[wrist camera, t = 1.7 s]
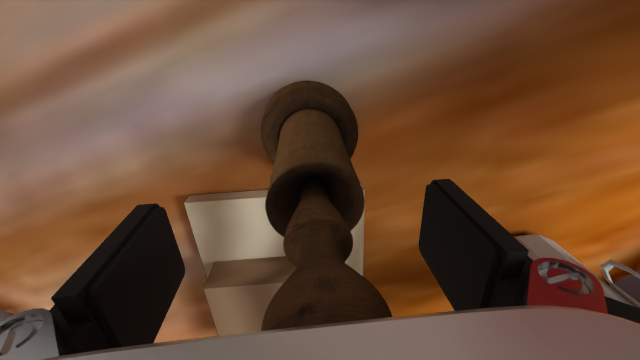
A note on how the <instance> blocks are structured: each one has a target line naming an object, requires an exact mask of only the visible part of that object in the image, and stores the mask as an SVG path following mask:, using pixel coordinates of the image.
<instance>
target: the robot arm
mask: <svg viewBox="0 0 640 360" xmlns="http://www.w3.org/2000/svg"><path fill="white" fill-rule="evenodd" d="M419 250H420V252H421V254H422V256H423V258H424V260H425V261H426V263H427V265H428V266H429V268H430V270H431V271H432V273H433V275H434V276H435V278H436V280H437V281H438V283H439V285H440V286H441V288H442V290H443V292H444V293H445V295H446V297H447V298H448V300H449V302H450V303H451V305H452V307H453V308H454V310H455V311H448V312H437V313H427V314H418V315H408V316H398V317H388V318H379V319H369V320H359V321H350V322H340V323H331V324H322V325H312V326H303V327H294V328H285V329H276V330H267V331H258V332H248V333H239V334H231V335H222V336H213V337H204V338H196V339H187V340H178V341H170V342H161V343H154V340H155V338H156V336H157V334H158V332H159V329H160V327H161V325H162V323H163V321H164V319H165V316H166V314H167V312H168V310H169V308H170V305H171V303H172V301H173V299H174V297H175V295H176V292H177V290H178V288H179V286H180V284H181V281H182V279H183V277H184V274H185V266H184V263H183V260H182V257H181V254H180V251H179V248H178V245H177V243H176V240H175V237H174V234H173V231H172V228H171V225H170V222H169V219H168V216H167V213H166V211H165V209H164V208H163V207H160V206H159V205H158V204H144V205H138V206H136V207H135V208H134V209H133V210H132V211H131V213H130V214H129V215H128V216H127V217H126V218H125V219H124V220H123V221H122V222H121V223H120V224H119V225H118V227H117V228H116V229H115V230H114V231H113V232H112V233H111V234H110V235H109V236H108V237H107V238H106V239H105V240H104V242H103V243H102V244H101V245H100V246H99V247H98V248H97V249H96V250H95V251H94V252H93V253H92V254H91V256H90V257H89V258H88V259H87V260H86V261H85V262H84V263H83V264H82V265H81V266H80V267H79V268H78V269H77V271H76V272H75V273H74V274H73V275H72V276H71V277H70V278H69V279H68V280H67V281H66V282H65V283H64V285H63V286H62V287H61V288H60V289H59V290H58V291H57V292H56V293H55V294H54V295H53V296H52V297H51V299H52V300H53V302H54V303H55V305H54V306H53V307H52V308H51V310H50V311H49V310H46V309H43V308H41V309H31V310H27V311H23V312H21V313H18V314H16V315H13V316H11V317H9V318H7V319H5V320H3V321H1V322H0V360H640V308H637V307H634V306H631V305H629V304H626V303H623V302H620V301H618V300H615V299H612V298H609V297H607V296H604V291H603V288H602V285H601V283H600V282H599V281H598V280H597V279H596V277H595V276H594V275H592V274H591V273H589V272H588V271H587V270H585V269H583V268H582V267H580V266H578V265H576V264H573V263H571V262H568V261H565V260H561V259H557V258H547V257H544V258H538V259H536V260H534V261H533V260H532V259H531V258H530V257H529V256H528V253H529V250H528V249H527V248H526V247H525V246H524V245H522V244H521V243H520V242H519V241H518V240H517V239H516V238H515V237H514V236H512V235H511V234H510V233H509V232H508V231H507V230H506V229H505V228H504V227H502V226H501V225H500V224H499V223H498V222H497V221H496V220H495V219H494V218H492V217H491V216H490V215H489V214H488V213H487V212H486V211H485V210H484V209H482V208H481V207H480V206H479V205H478V204H477V203H476V202H475V201H474V200H472V199H471V198H470V197H469V196H468V195H467V194H466V193H465V192H464V191H462V190H461V189H460V188H459V187H458V186H457V185H456V184H455V183H454V182H452V181H451V180H450V179H441V180H433V181H432V182H431V184H428V185H427V186H426V191H425V199H424V207H423V214H422V222H421V230H420V238H419Z"/></svg>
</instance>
